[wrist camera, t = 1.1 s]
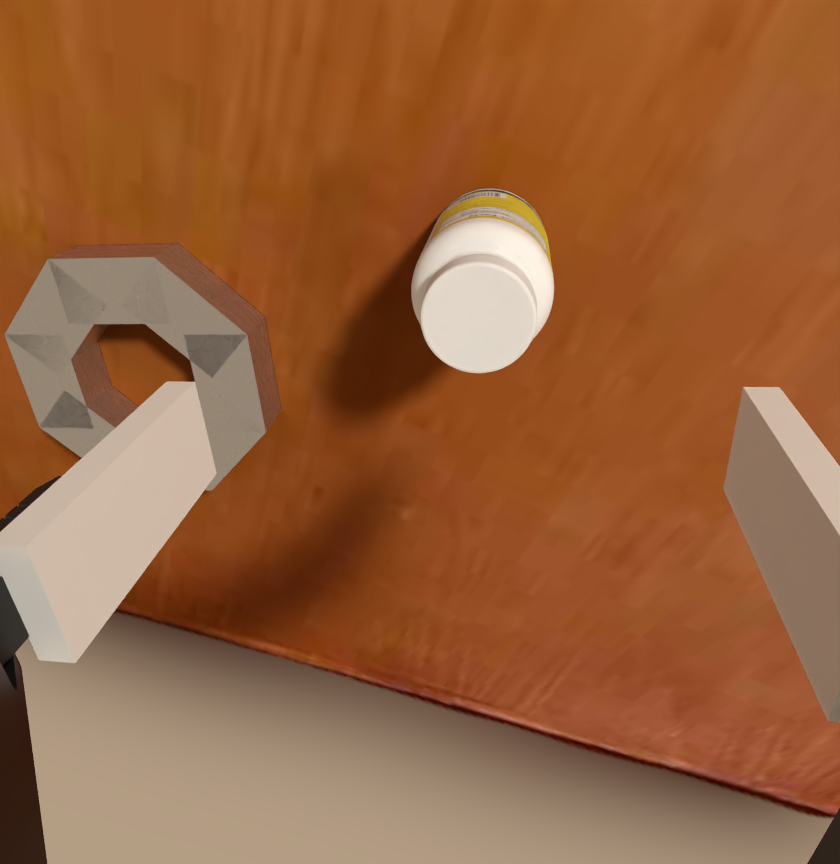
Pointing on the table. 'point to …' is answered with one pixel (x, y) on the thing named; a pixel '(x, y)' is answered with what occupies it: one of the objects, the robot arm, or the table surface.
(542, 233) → the supplement bottle
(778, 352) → the table surface
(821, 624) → the robot arm
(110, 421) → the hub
